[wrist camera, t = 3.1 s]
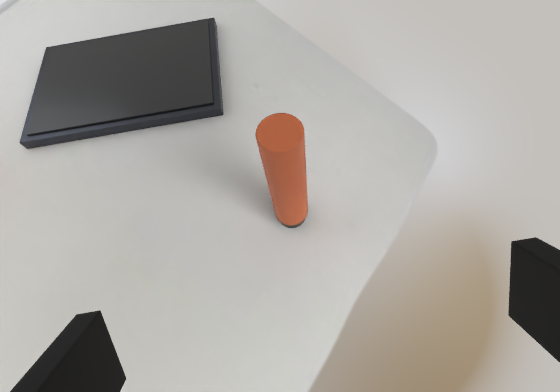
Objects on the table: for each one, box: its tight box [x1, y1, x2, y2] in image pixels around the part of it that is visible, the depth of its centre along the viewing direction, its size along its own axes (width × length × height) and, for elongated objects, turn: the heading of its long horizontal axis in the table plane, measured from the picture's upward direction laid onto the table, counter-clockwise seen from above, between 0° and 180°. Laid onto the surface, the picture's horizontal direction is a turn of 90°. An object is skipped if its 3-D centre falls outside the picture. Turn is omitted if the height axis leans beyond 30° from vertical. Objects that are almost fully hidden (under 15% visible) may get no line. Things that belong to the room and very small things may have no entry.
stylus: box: [256, 113, 308, 228], centre depth 23 cm, size 3×3×11 cm
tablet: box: [20, 18, 223, 149], centre depth 36 cm, size 20×14×1 cm
